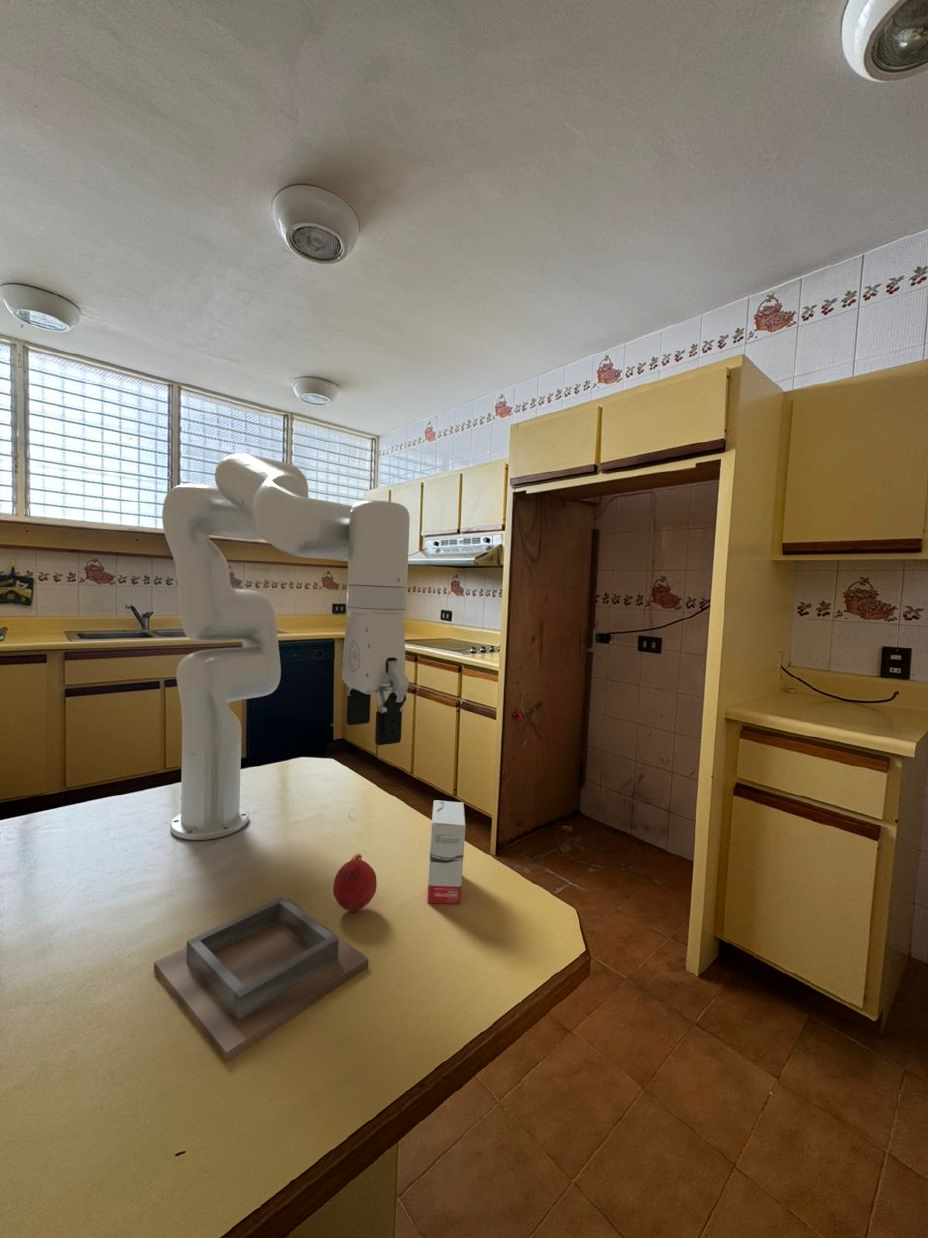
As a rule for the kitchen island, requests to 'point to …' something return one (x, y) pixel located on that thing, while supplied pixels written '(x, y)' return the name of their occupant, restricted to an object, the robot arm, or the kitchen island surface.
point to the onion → (355, 884)
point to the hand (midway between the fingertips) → (372, 733)
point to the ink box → (446, 852)
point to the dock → (257, 973)
